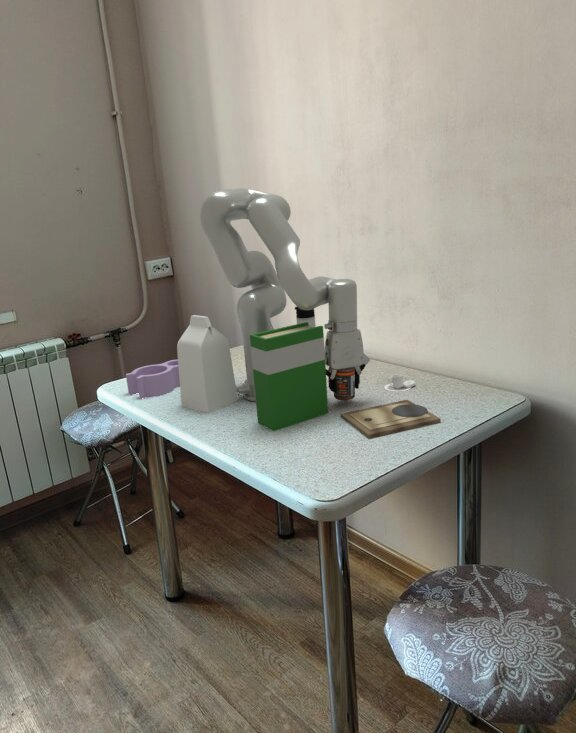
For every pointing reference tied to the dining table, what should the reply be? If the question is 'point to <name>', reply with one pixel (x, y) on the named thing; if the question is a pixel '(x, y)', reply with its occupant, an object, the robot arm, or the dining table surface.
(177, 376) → the clip
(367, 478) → the dining table surface
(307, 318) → the travel mug
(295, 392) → the hardback book
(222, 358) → the milk
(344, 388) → the supplement bottle
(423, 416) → the brown flat wooden board
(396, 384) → the teacup and saucer
